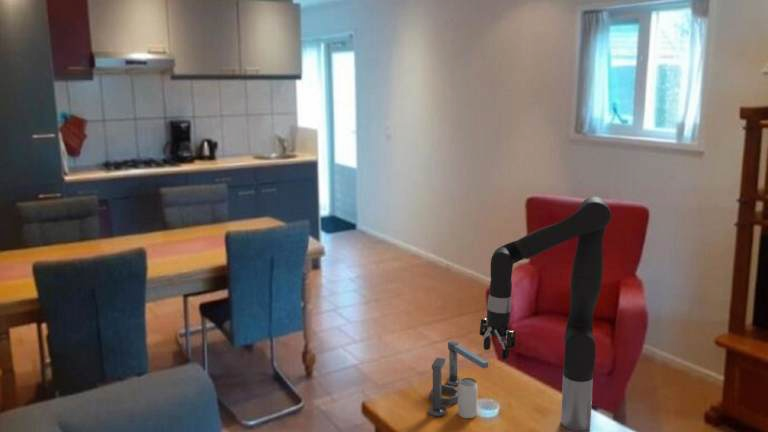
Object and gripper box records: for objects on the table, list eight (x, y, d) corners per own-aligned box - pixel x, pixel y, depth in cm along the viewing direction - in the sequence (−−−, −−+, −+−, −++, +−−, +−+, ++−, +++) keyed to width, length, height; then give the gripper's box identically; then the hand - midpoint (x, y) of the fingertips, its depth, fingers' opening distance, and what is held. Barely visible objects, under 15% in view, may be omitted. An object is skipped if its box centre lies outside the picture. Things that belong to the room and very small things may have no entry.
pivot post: (461, 381, 236) (461, 347, 233) (458, 387, 231) (458, 353, 228) (448, 379, 237) (448, 346, 234) (445, 385, 233) (445, 351, 230)
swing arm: (445, 347, 232) (445, 342, 231) (454, 345, 234) (454, 340, 233) (481, 369, 214) (481, 364, 214) (490, 366, 216) (490, 361, 216)
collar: (462, 393, 226) (462, 387, 225) (455, 407, 217) (455, 400, 216) (435, 389, 229) (435, 383, 229) (427, 402, 220) (427, 396, 220)
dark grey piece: (449, 407, 217) (449, 359, 213) (443, 418, 210) (443, 369, 206) (432, 404, 219) (432, 356, 215) (426, 415, 212) (425, 366, 208)
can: (476, 419, 209) (477, 386, 206) (457, 418, 210) (457, 385, 207) (477, 410, 215) (478, 377, 212) (458, 408, 216) (459, 376, 214)
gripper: (523, 313, 200) (519, 359, 203) (492, 299, 211) (489, 344, 215) (506, 317, 196) (502, 364, 199) (475, 303, 207) (472, 348, 211)
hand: (495, 354), depth 207 cm, fingers open, 8 cm apart
